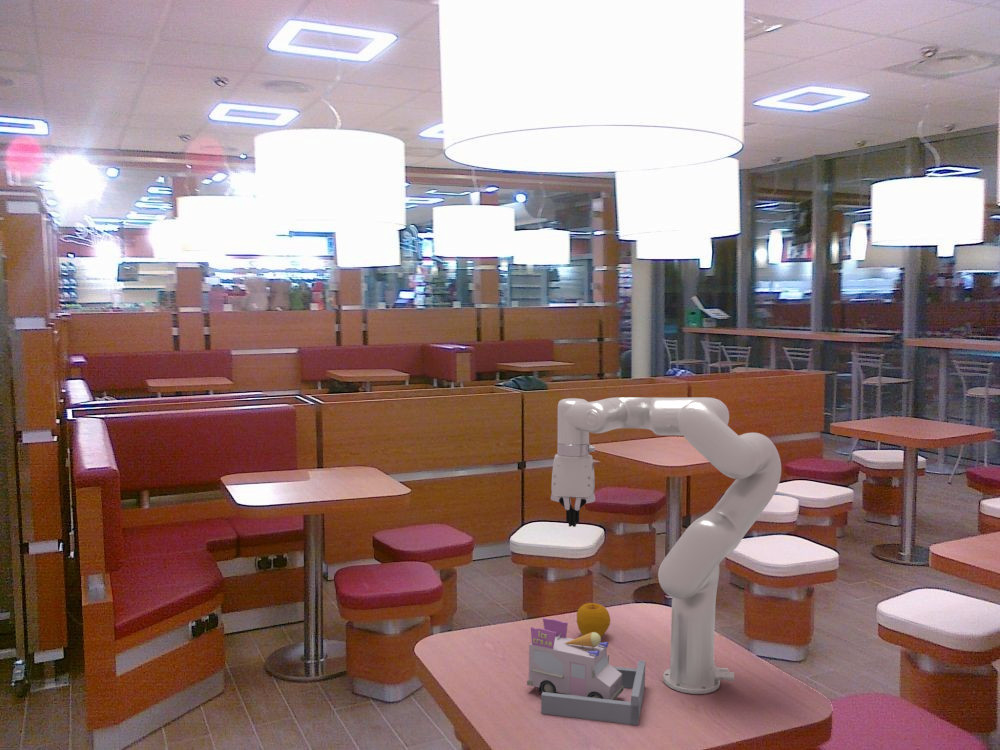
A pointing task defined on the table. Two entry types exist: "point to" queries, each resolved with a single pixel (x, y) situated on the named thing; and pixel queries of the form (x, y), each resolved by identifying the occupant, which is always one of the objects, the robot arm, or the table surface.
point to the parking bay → (601, 701)
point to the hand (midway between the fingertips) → (572, 525)
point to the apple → (593, 619)
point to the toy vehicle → (571, 663)
